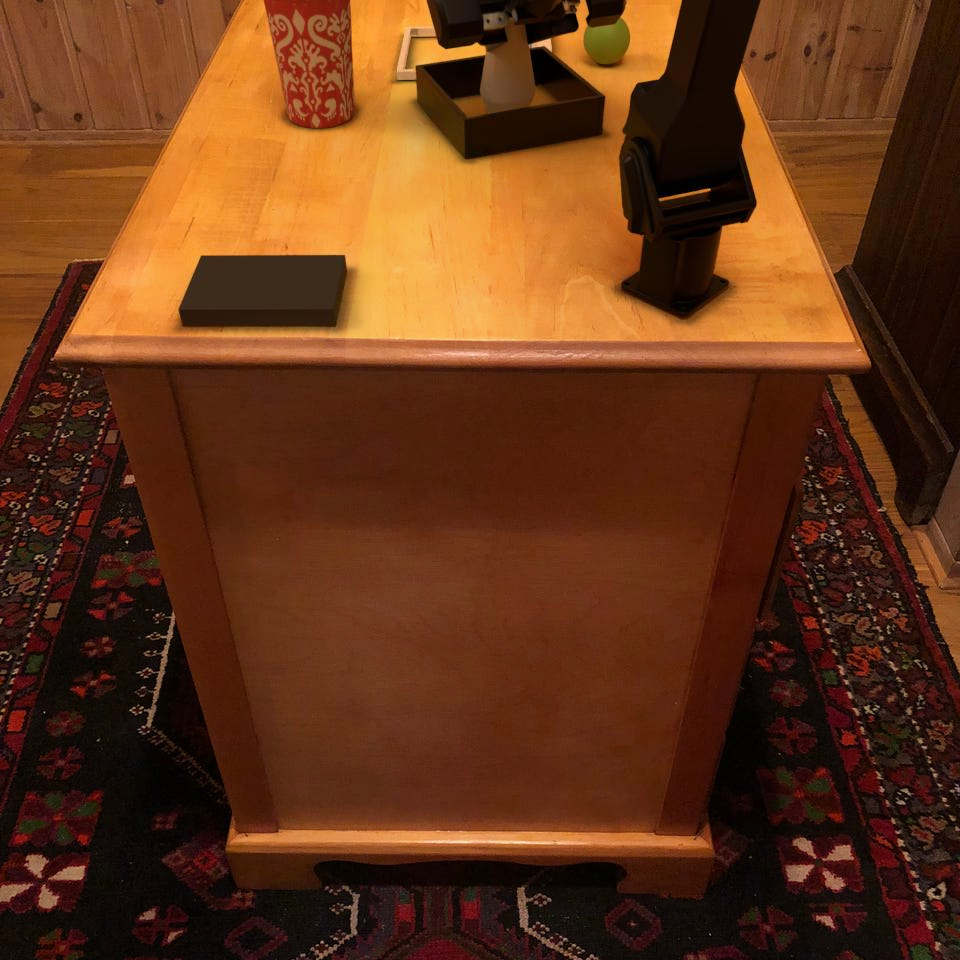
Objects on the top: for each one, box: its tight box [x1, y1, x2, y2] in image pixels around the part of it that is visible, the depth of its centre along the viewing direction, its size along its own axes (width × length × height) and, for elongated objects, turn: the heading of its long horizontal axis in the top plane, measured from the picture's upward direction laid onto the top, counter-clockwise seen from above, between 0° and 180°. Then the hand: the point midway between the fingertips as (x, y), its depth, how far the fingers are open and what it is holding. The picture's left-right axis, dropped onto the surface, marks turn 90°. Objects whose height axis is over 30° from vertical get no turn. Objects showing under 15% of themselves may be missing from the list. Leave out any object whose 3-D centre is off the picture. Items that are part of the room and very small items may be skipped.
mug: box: [263, 0, 356, 129], centre depth 99 cm, size 13×9×14 cm
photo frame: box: [396, 26, 553, 81], centre depth 114 cm, size 15×1×18 cm
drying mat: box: [178, 254, 348, 327], centre depth 76 cm, size 8×12×2 cm, turn 90°
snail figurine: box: [582, 0, 631, 65], centre depth 108 cm, size 5×6×12 cm
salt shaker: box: [479, 19, 537, 114], centre depth 96 cm, size 6×6×13 cm
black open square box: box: [415, 46, 606, 160], centre depth 100 cm, size 15×15×4 cm
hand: (503, 44), depth 97 cm, fingers closed on salt shaker, 3 cm apart
